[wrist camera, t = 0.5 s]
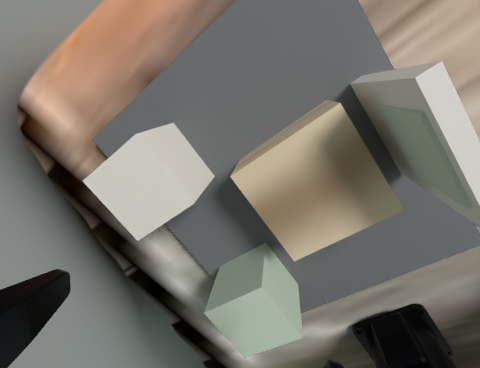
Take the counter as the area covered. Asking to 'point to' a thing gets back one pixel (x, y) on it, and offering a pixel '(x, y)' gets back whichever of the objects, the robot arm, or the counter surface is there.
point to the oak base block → (315, 182)
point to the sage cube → (255, 302)
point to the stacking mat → (294, 107)
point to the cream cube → (150, 179)
